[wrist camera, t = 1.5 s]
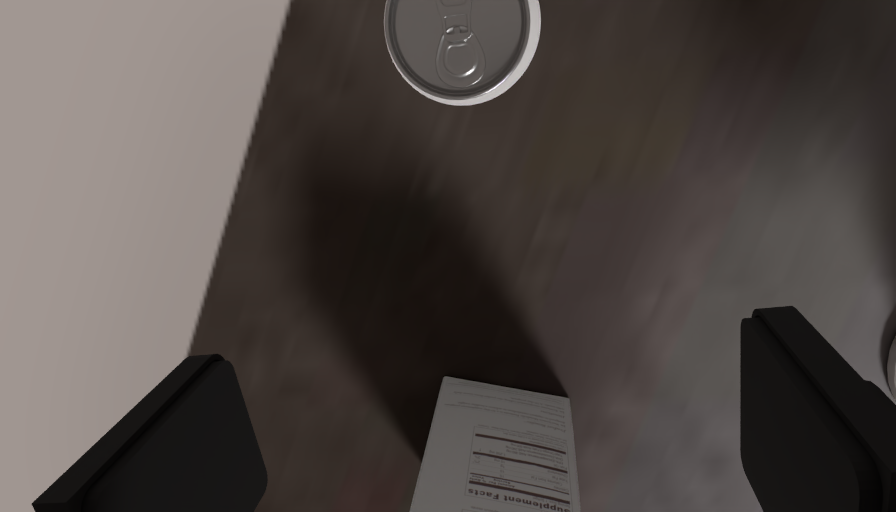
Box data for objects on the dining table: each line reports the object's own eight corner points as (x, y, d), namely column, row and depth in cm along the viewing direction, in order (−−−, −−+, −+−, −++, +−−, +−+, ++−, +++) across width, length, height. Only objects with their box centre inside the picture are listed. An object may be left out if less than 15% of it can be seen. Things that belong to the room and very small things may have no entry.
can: (432, 91, 36) (387, 119, 24) (417, -28, 33) (360, -57, 22) (541, 79, 34) (547, 102, 23) (534, -45, 32) (536, -85, 21)
